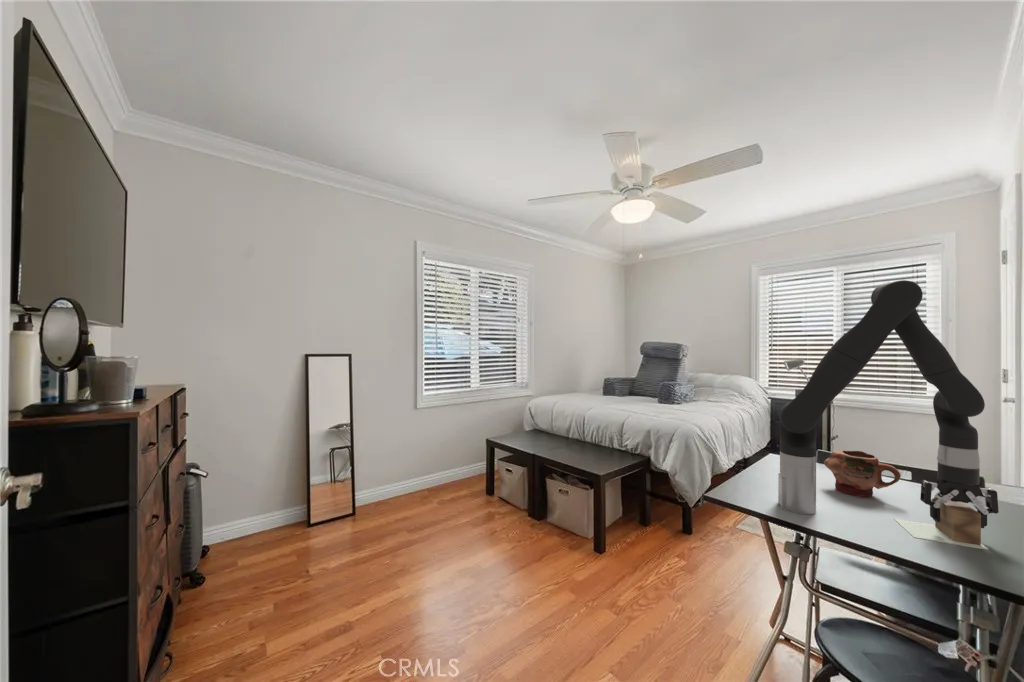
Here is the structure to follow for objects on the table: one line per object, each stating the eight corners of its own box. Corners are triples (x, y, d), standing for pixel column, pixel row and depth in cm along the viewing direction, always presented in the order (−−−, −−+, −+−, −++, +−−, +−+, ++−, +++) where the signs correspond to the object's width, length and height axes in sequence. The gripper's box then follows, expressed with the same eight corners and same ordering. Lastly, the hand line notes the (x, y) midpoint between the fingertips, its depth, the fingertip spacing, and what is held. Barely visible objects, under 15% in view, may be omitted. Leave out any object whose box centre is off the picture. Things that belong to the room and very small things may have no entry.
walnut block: (953, 541, 104) (953, 510, 104) (935, 526, 112) (935, 498, 112) (980, 545, 102) (980, 513, 102) (959, 530, 110) (959, 501, 110)
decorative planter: (902, 498, 134) (902, 456, 134) (899, 508, 126) (899, 464, 126) (827, 482, 149) (827, 445, 149) (820, 490, 141) (820, 451, 141)
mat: (914, 538, 106) (914, 537, 106) (894, 520, 117) (894, 518, 117) (988, 550, 100) (988, 548, 100) (960, 530, 111) (960, 528, 111)
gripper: (929, 463, 107) (929, 524, 107) (1005, 471, 101) (1005, 535, 101) (915, 456, 114) (915, 513, 114) (986, 462, 108) (986, 523, 108)
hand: (957, 523), depth 107 cm, fingers open, 8 cm apart
